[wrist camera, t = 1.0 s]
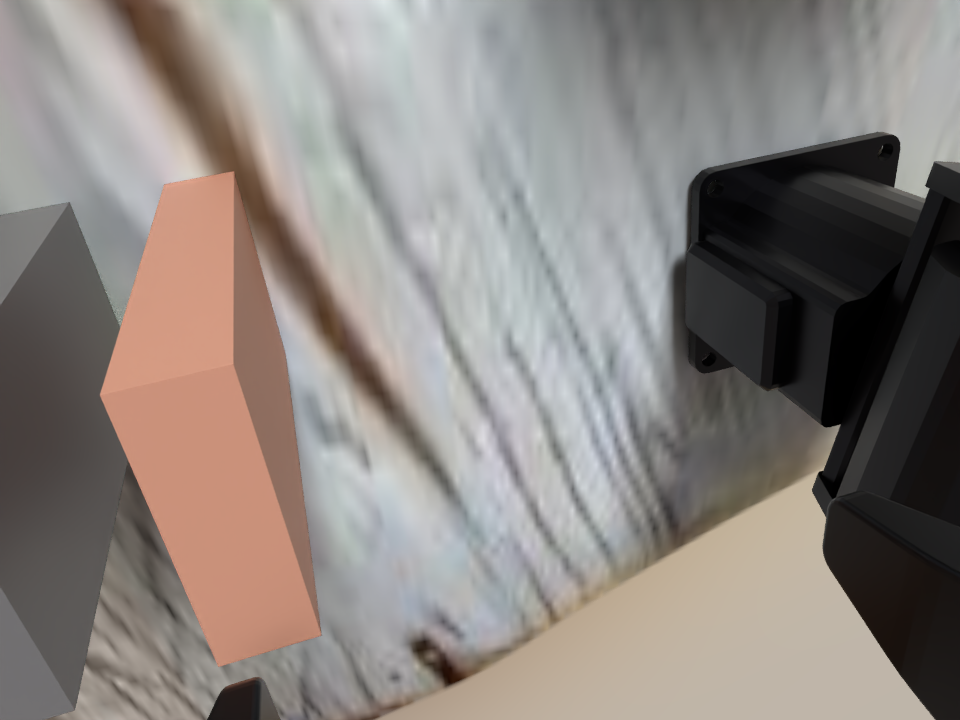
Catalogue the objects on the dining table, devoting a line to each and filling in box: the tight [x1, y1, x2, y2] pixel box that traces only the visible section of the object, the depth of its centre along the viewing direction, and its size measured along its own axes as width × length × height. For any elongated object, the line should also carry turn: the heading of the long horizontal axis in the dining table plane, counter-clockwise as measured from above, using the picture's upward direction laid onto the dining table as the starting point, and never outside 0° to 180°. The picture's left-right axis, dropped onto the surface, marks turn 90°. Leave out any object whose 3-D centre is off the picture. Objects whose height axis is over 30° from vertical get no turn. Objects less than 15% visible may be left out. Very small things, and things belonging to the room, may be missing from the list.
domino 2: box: [100, 171, 321, 667], centre depth 15 cm, size 2×5×10 cm, turn 7°
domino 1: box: [0, 202, 128, 720], centre depth 14 cm, size 2×5×10 cm, turn 7°
